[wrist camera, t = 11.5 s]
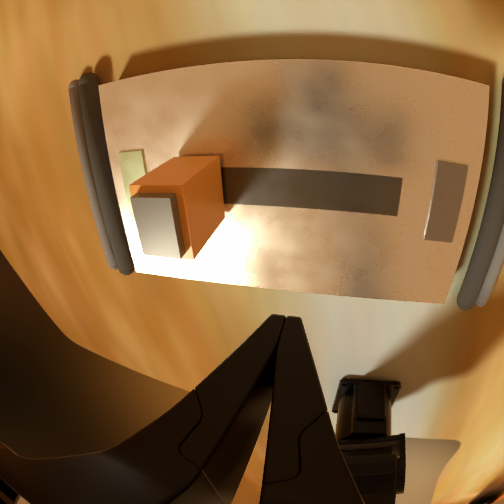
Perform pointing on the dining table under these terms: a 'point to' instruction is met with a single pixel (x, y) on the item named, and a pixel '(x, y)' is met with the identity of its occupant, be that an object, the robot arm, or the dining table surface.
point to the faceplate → (311, 170)
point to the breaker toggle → (178, 206)
